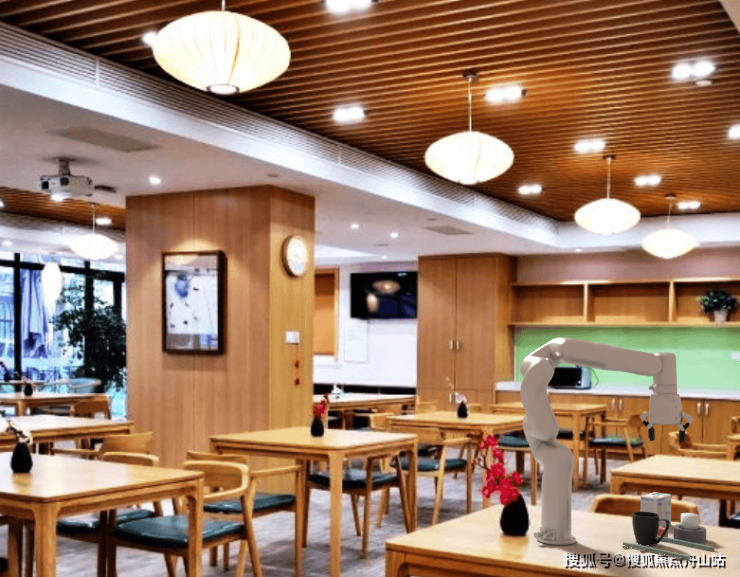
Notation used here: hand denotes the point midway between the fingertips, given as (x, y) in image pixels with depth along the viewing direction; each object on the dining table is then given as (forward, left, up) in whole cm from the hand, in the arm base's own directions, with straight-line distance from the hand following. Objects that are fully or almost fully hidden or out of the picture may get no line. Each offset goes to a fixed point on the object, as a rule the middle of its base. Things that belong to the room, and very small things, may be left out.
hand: (667, 441), depth 296 cm
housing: (+5, -6, -32) cm, 33 cm away
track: (-13, -7, -32) cm, 35 cm away
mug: (-11, -1, -32) cm, 34 cm away
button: (+5, -6, -29) cm, 30 cm away
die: (+1, +2, -32) cm, 32 cm away
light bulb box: (+15, +12, -32) cm, 38 cm away
